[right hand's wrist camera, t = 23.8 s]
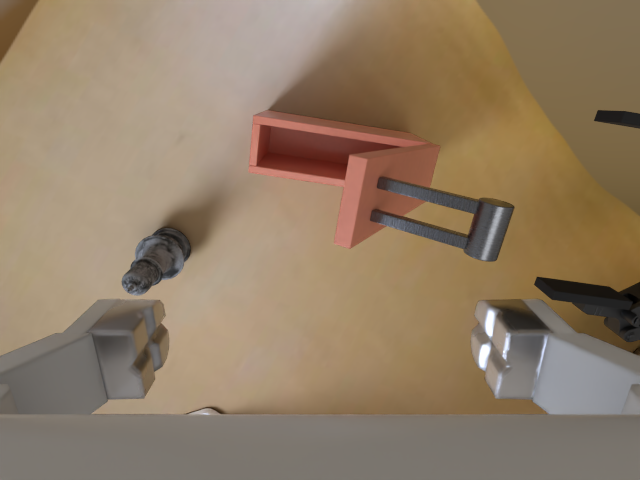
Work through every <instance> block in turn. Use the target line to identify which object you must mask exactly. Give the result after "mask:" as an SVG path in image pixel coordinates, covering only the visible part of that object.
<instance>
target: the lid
mask: <svg viewBox="0 0 640 480" xmlns="http://www.w3.org/2000/svg"><path fill="white" fill-rule="evenodd" d="M439 149H440V145H435V144H430V143H429V144H421V145H414V146H407V147H400V148H393V149H386V150H379V151H372V152H365V153H358V154H351V155H349V160H348V166H347V172H346V177H345V183H344V189H343V194H342V200H341V205H340V211H339V217H338V222H337V228H336V234H335V239H334V244H337V245H340V246H343V247H346V248H349V249H351V248H352V247H354V246H355V245H357V244H359V243H360V242H362V241H363V240H365V239H367V238H368V237H370V236H371V235H373V234H375V233H376V232H378V231H379V230H381V229H383V228H384V227H386V226H389V227H392V228H395V229H399V230H402V231H405V232H409V233H412V234H415V235H419V236H422V237H425V238H429V239H432V240H435V241H439V242H442V243H445V244H449V245H452V246H455V247H459V248H462V249H464V252H465V253H466V254H467V255H469V256H471V257H473V258H475V259H479V260H482V261H496V260H497V258H498V255H499V252H500V249H501V246H502V243H503V240H504V237H505V234H506V231H507V228H508V225H509V222H510V219H511V216H512V214H513V211H514V206H513V205H512V204H510V203H507V202H504V201H501V200H496V199H491V198H480V199H479V200H477V199H473V198H469V197H465V196H461V195H457V194H453V193H449V192H445V191H441V190H437V189H433V188H430V185H431V181H432V177H433V173H434V169H435V165H436V161H437V157H438V153H439ZM426 201H427V202H431V203H435V204H439V205H443V206H446V207H450V208H454V209H458V210H462V211H465V212H469V213H473V214H474V217H473V220H472V224H471V227H470V230H469V234H468V235H466V234H463V233H459V232H456V231H452V230H449V229H445V228H442V227H438V226H435V225H431V224H428V223H424V222H421V221H417V220H414V219H410V218H407V217H403V215H405V214H406V213H408V212H410V211H411V210H413V209H414V208H416V207H418V206H419V205H421V204H422V203H424V202H426Z"/></svg>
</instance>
